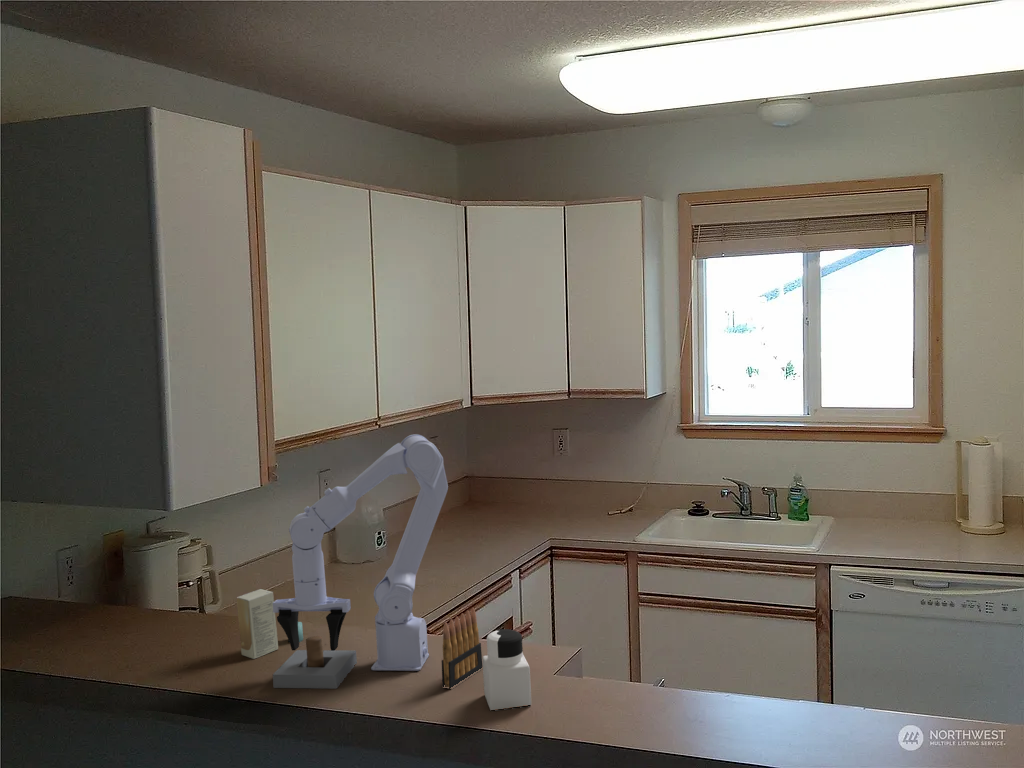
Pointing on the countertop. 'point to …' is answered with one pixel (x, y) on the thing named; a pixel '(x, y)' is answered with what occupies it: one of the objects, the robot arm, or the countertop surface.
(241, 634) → the skincare box
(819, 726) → the countertop surface
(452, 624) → the ammunition clip
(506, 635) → the medicine bottle
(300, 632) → the short teal pin
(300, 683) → the slate hole block
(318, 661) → the long walnut pin
